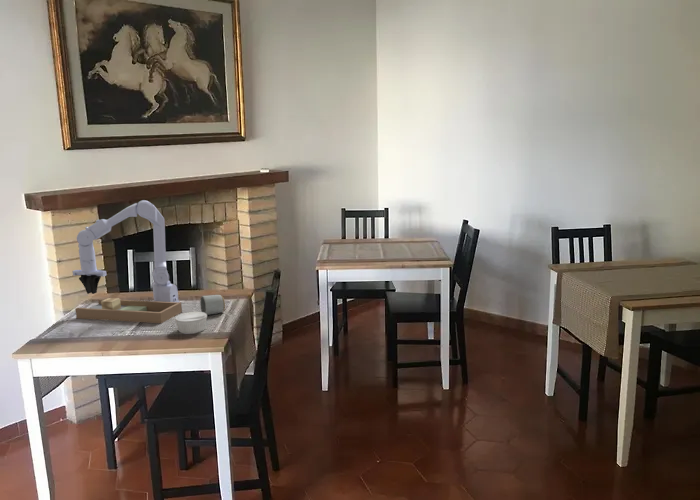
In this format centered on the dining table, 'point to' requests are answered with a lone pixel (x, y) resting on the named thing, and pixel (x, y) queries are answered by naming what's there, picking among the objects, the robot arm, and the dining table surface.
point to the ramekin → (191, 322)
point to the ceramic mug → (212, 304)
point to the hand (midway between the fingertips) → (91, 293)
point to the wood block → (111, 303)
